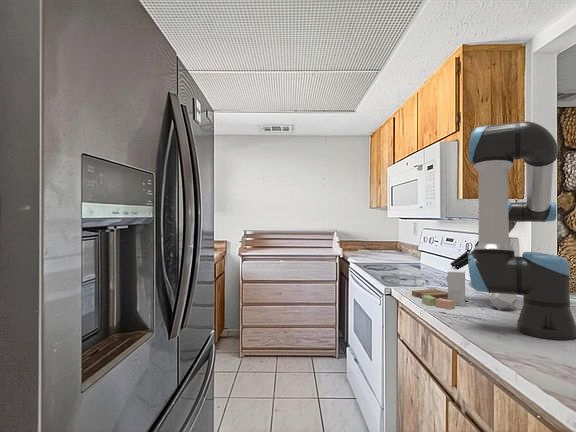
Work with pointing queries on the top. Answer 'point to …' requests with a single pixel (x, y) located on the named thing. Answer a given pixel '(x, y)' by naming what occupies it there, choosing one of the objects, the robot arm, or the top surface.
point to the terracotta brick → (445, 303)
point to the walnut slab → (431, 293)
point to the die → (503, 300)
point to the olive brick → (429, 300)
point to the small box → (456, 286)
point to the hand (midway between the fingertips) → (458, 283)
